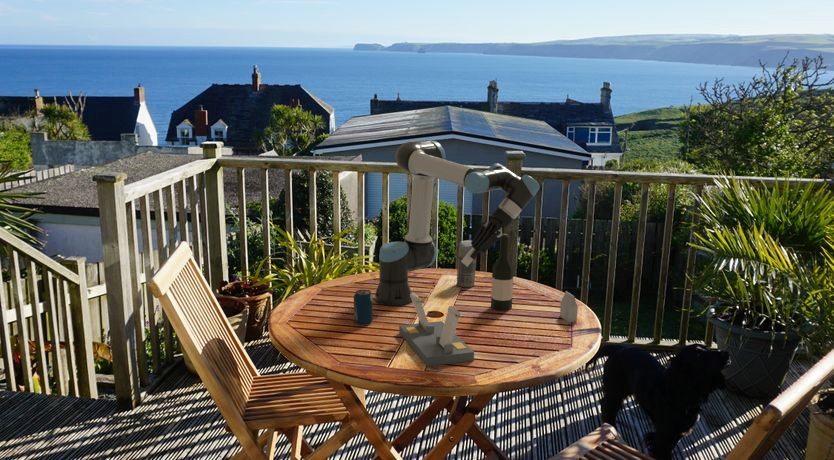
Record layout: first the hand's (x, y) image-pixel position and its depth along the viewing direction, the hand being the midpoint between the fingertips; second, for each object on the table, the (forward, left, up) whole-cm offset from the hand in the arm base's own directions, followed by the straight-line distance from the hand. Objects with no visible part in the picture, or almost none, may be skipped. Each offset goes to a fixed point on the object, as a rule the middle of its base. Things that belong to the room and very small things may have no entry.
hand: (464, 263), depth 243 cm
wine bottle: (+5, +29, -24) cm, 38 cm away
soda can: (-34, -13, -25) cm, 44 cm away
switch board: (-1, -21, -24) cm, 32 cm away
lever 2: (+5, -27, -21) cm, 34 cm away
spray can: (-19, +50, -24) cm, 59 cm away
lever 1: (-8, -14, -21) cm, 26 cm away
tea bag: (+32, +29, -25) cm, 50 cm away
